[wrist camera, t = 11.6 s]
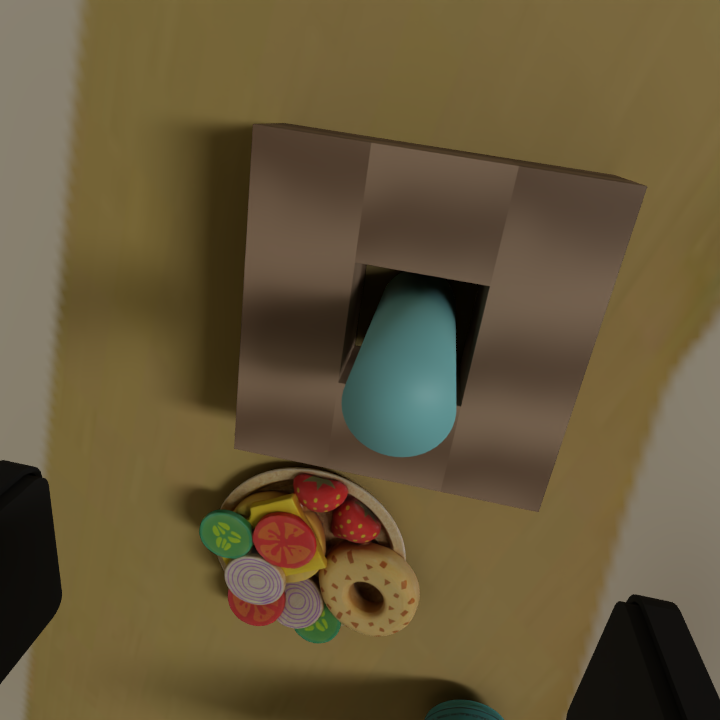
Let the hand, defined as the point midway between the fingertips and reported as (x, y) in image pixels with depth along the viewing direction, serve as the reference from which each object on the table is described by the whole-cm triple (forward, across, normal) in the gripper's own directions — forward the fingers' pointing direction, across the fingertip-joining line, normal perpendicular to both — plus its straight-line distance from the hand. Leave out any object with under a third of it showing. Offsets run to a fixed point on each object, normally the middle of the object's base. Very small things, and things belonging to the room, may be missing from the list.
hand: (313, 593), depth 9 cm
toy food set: (+23, +3, +20) cm, 31 cm away
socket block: (+23, -1, +2) cm, 23 cm away
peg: (+23, -1, +2) cm, 23 cm away
